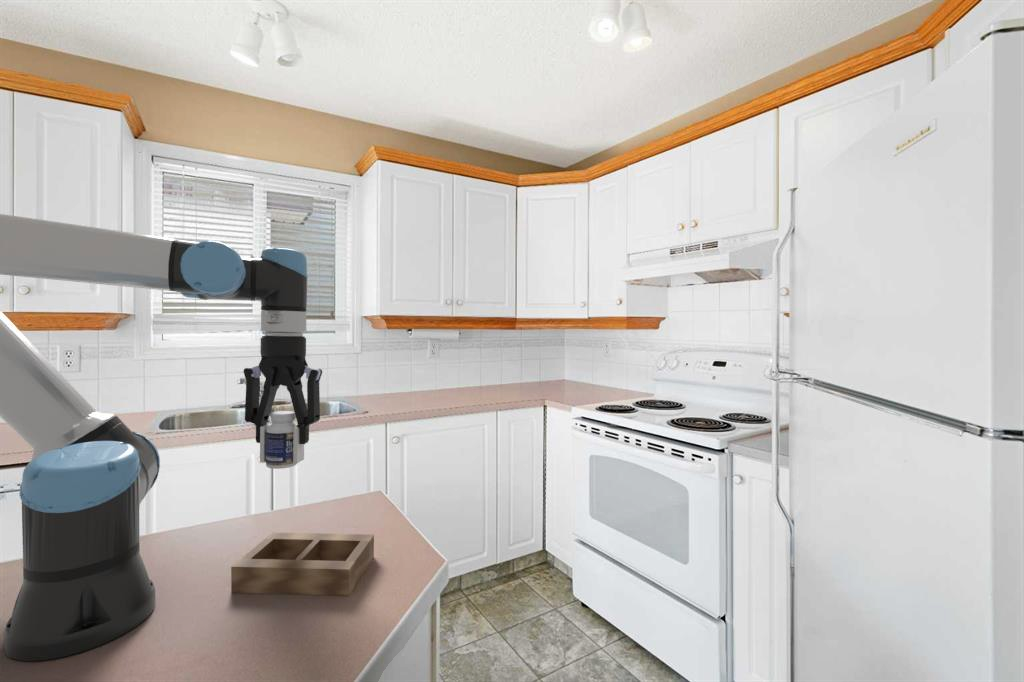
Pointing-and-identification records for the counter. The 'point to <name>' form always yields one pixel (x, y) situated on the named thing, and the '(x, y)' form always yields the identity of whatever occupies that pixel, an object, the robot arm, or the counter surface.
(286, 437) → the pill bottle
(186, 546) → the counter surface
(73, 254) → the robot arm
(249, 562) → the socket board
